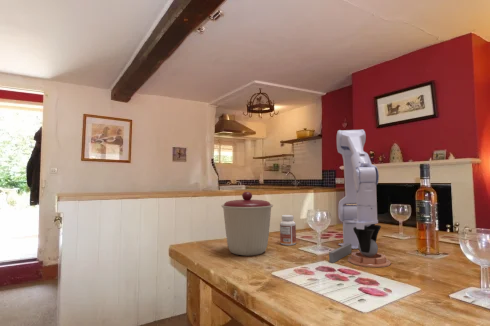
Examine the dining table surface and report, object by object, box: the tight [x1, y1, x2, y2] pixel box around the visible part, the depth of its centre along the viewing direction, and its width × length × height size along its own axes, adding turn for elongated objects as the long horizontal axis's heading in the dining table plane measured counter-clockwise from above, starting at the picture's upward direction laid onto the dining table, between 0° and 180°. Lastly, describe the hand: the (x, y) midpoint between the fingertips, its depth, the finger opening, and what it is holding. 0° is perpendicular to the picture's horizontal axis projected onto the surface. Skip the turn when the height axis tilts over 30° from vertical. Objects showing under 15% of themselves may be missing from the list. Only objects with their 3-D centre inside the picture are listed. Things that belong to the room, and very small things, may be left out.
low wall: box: [328, 243, 353, 264], centre depth 94 cm, size 16×1×3 cm, turn 141°
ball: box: [357, 239, 379, 257], centre depth 89 cm, size 6×6×6 cm
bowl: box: [347, 250, 391, 268], centre depth 89 cm, size 12×12×2 cm
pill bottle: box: [279, 214, 297, 246], centre depth 115 cm, size 6×6×11 cm
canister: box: [221, 191, 274, 257], centre depth 102 cm, size 18×18×21 cm
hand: (368, 250), depth 89 cm, fingers closed on ball, 5 cm apart
